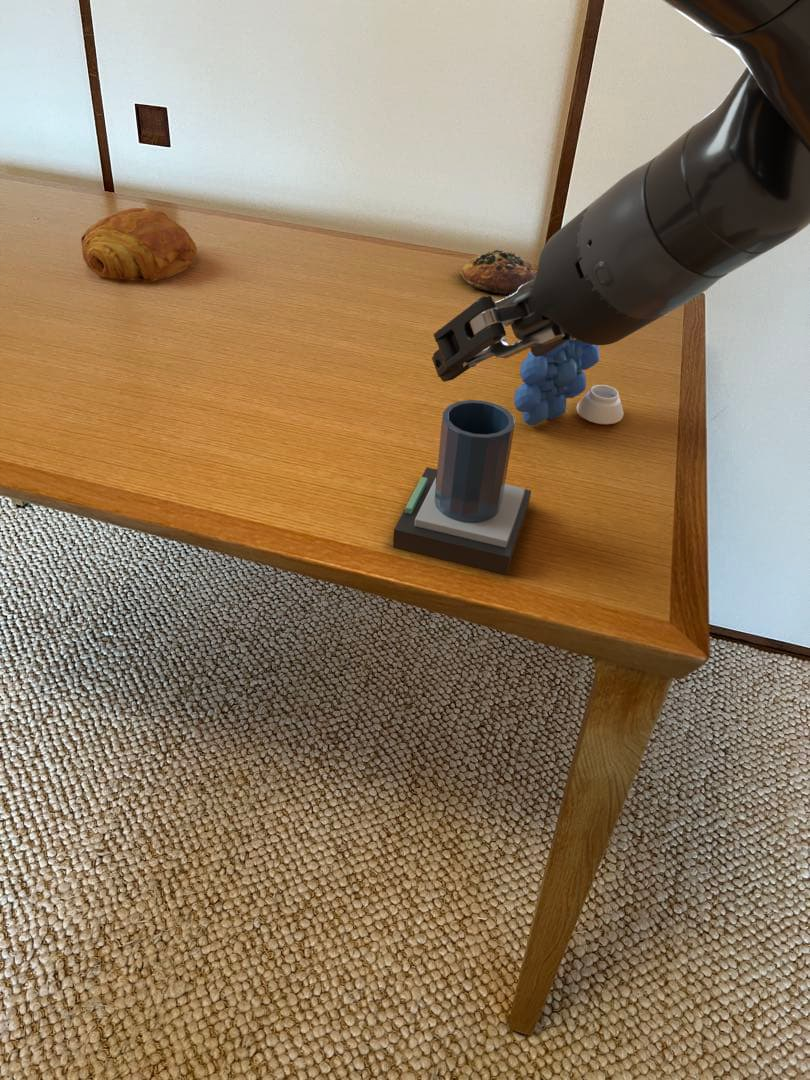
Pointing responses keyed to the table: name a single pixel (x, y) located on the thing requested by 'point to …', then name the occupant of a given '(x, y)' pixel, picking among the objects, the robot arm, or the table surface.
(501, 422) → the cup
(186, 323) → the table surface
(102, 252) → the croissant
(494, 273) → the bread roll
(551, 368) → the grapes
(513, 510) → the scale
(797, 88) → the robot arm
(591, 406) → the white jar
